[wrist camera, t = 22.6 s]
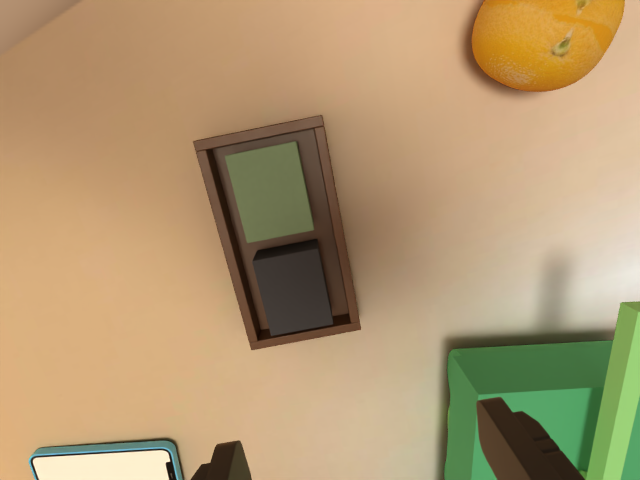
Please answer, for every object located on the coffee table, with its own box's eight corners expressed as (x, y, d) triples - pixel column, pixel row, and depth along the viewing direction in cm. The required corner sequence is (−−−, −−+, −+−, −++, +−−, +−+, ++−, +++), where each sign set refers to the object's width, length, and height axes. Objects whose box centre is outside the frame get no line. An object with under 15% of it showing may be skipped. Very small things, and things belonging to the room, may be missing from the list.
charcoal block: (256, 250, 33) (251, 261, 30) (317, 238, 32) (318, 248, 30) (274, 319, 34) (271, 336, 32) (331, 308, 34) (333, 324, 31)
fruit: (446, 88, 30) (494, 72, 22) (468, -25, 28) (529, -87, 20) (549, 102, 30) (631, 90, 23) (578, -8, 28) (679, -62, 21)
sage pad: (232, 154, 30) (224, 155, 27) (297, 140, 30) (296, 141, 27) (252, 233, 32) (246, 243, 29) (313, 222, 32) (314, 230, 29)
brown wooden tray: (202, 141, 30) (192, 141, 28) (321, 116, 30) (322, 115, 28) (255, 335, 35) (251, 350, 33) (357, 316, 35) (361, 329, 33)
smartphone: (26, 455, 37) (170, 446, 37) (34, 445, 39) (175, 437, 38) (45, 510, 39) (183, 502, 39) (53, 499, 41) (187, 492, 40)
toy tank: (798, 310, 23) (674, 673, 32) (629, 251, 34) (574, 528, 44) (515, 327, 22) (474, 689, 32) (442, 261, 34) (429, 539, 43)
